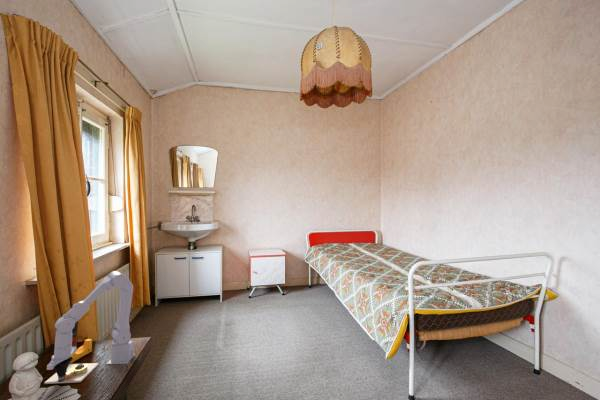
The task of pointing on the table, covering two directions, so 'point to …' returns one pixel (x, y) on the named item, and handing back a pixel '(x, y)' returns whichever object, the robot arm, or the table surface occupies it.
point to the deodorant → (74, 335)
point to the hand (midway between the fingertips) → (61, 376)
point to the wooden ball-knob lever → (73, 372)
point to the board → (75, 377)
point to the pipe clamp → (82, 350)
